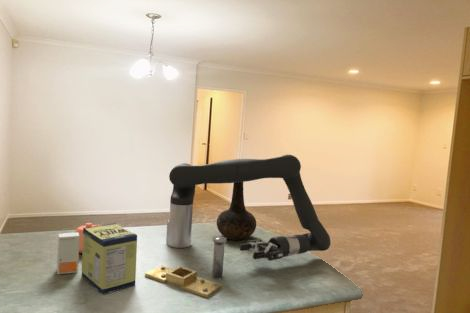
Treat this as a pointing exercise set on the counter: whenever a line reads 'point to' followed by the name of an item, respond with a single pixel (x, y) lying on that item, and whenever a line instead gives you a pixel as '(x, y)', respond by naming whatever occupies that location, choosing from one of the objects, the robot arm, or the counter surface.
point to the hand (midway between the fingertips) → (246, 251)
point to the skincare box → (68, 253)
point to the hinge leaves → (184, 280)
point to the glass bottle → (236, 217)
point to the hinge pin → (218, 256)
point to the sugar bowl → (82, 235)
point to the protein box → (109, 257)
